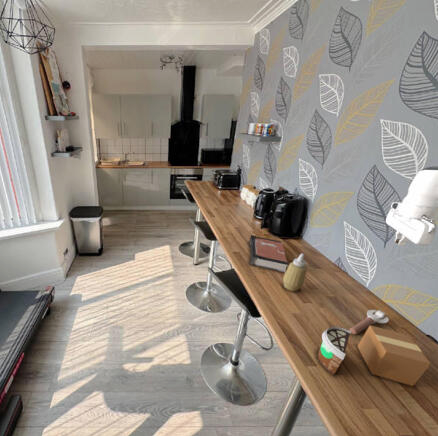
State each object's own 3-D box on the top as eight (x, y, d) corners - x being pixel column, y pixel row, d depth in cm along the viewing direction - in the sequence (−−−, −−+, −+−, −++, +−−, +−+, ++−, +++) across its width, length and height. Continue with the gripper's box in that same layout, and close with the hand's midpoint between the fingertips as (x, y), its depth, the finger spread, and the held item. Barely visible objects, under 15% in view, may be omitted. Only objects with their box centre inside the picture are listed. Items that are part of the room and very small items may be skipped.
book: (287, 273, 118) (290, 264, 116) (250, 264, 123) (252, 256, 121) (280, 248, 140) (282, 240, 138) (249, 242, 146) (251, 235, 144)
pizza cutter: (360, 342, 83) (363, 336, 82) (341, 328, 88) (344, 323, 87) (389, 322, 91) (393, 316, 90) (370, 311, 96) (374, 305, 95)
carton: (393, 356, 78) (408, 334, 73) (413, 386, 69) (431, 363, 65) (357, 346, 81) (369, 325, 76) (371, 373, 72) (386, 351, 68)
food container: (318, 340, 82) (328, 319, 78) (340, 352, 78) (351, 330, 74) (309, 363, 74) (319, 341, 70) (332, 377, 70) (345, 355, 66)
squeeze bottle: (300, 296, 103) (313, 261, 95) (280, 288, 107) (291, 255, 99) (301, 285, 109) (313, 252, 102) (281, 279, 113) (292, 247, 106)
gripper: (450, 223, 75) (428, 259, 81) (409, 203, 93) (394, 234, 99) (424, 220, 77) (405, 256, 83) (389, 201, 95) (375, 231, 101)
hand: (398, 244), depth 91 cm, fingers closed
